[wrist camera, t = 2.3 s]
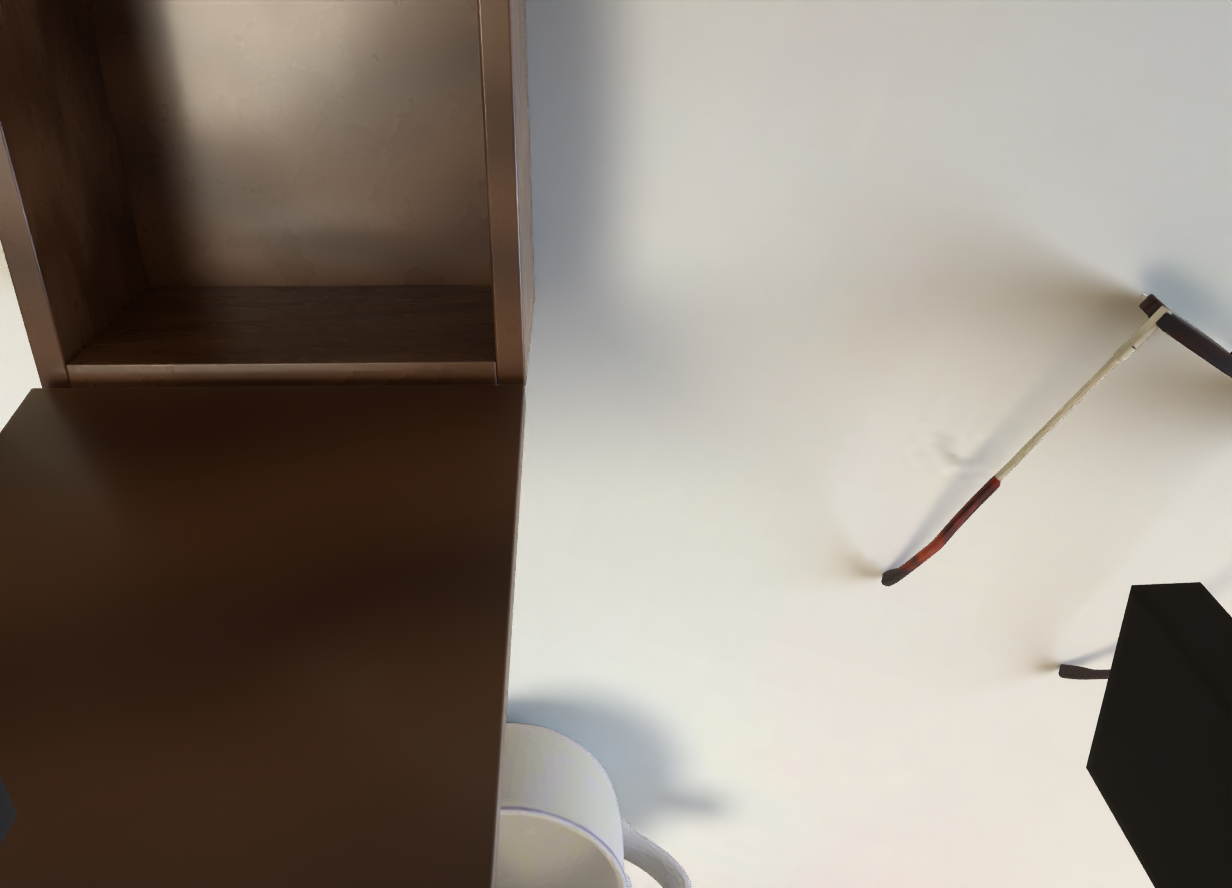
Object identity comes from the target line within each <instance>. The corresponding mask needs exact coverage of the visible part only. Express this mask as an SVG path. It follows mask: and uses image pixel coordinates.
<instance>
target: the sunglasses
mask: <svg viewBox="0 0 1232 888" xmlns="http://www.w3.org/2000/svg"><path fill="white" fill-rule="evenodd" d="M1140 296H1141V298H1142V299H1143V300H1144V301H1143V302H1142V303H1141V304H1140V306H1139V307H1140V308H1141V309H1142V310H1143V311H1144V312H1145V313H1146V314H1147V315H1148V318H1149V319H1148V320H1147V321H1146V322H1145V323H1144V324H1143V325H1142V326H1141V327H1140V328H1139V329H1138V330H1137V331H1136V332H1135V333H1134V334H1133V335H1132V336H1131V337H1130V338H1129V339H1128V340H1127V341H1126V342H1125V343H1124V344H1123V345H1122V346H1121V347H1120V348H1119V349H1118V350H1117V351H1116V352H1115V353H1114V355H1113V357H1112V358H1111V359H1110V360H1109V361H1108V362H1107V363H1106V364H1105V365H1104V366H1103V367H1102V368H1101V369H1100V370H1099V371H1098V372H1097V373H1096V374H1095V375H1094V376H1093V377H1092V378H1091V379H1090V380H1089V381H1088V382H1087V383H1086V384H1085V385H1084V386H1083V387H1082V388H1081V389H1080V390H1079V391H1078V392H1077V393H1076V394H1075V395H1074V396H1073V397H1072V398H1071V399H1070V400H1069V401H1068V402H1067V403H1066V404H1065V405H1064V406H1063V407H1062V408H1061V409H1060V410H1059V411H1058V412H1057V413H1056V414H1055V415H1054V416H1053V417H1052V418H1051V419H1050V420H1049V422H1048V423H1047V424H1046V425H1045V426H1044V427H1043V428H1042V429H1041V430H1040V431H1039V432H1038V433H1037V434H1036V435H1035V436H1034V437H1033V438H1032V439H1031V440H1030V441H1029V442H1028V443H1027V444H1026V445H1025V446H1024V447H1023V448H1022V449H1021V450H1020V451H1019V452H1018V453H1017V454H1016V455H1015V456H1014V457H1013V458H1012V459H1011V460H1010V461H1009V462H1008V463H1007V464H1006V465H1005V466H1004V467H1003V468H1002V469H1001V470H1000V471H999V472H998V473H997V474H996V475H995V476H993V477H992V478H991V479H990V480H989V481H988V482H987V483H986V484H985V485H984V486H983V487H982V488H981V489H980V490H979V491H978V492H977V493H976V494H975V495H974V496H973V497H972V498H971V499H970V500H969V501H968V502H967V503H966V504H965V505H964V507H963V508H962V509H961V510H960V511H959V512H958V513H957V514H956V515H955V516H954V517H953V518H952V519H951V521H950V522H949V523H948V524H947V525H946V526H945V527H944V529H943V530H942V531H941V532H940V533H939V534H938V536H937V537H936V538H935V539H934V540H933V541H932V542H931V543H930V544H929V545H927V546H926V547H925V548H923V549H922V550H921V551H920V552H918V553H917V554H916V555H915V556H914V557H912V558H911V559H910V560H909V561H907V562H906V563H905V564H903V565H902V566H901V567H899V568H896V569H892V570H889V571H887V572H885V573H884V574H883V576H882V581H881V582H882V584H883V585H885V586H891V585H893V584H895V583H897V582H898V581H900V580H901V579H902V578H904V577H905V576H906V575H908V574H909V573H910V572H912V571H913V570H914V569H916V568H917V567H918V566H920V565H921V564H922V563H923V562H925V561H926V560H927V559H929V558H930V557H931V556H932V555H934V554H935V553H936V552H937V551H939V550H940V549H941V548H942V547H943V546H944V545H945V544H946V543H947V541H948V540H949V539H950V538H951V537H952V536H953V534H954V533H955V532H956V531H957V530H958V529H959V528H960V526H961V525H962V524H963V523H964V522H965V521H966V520H967V519H968V518H969V517H970V516H971V515H972V514H973V513H974V512H975V511H976V510H977V509H978V507H979V506H980V505H981V504H982V503H983V502H984V501H985V500H986V499H987V498H988V497H989V496H990V495H991V494H992V493H993V492H994V491H995V490H996V489H997V488H998V487H999V486H1000V482H1001V480H1002V479H1003V478H1004V477H1005V476H1006V475H1007V474H1008V473H1009V472H1010V471H1011V470H1012V469H1013V468H1014V467H1015V466H1016V465H1017V464H1018V463H1019V462H1020V461H1021V460H1022V459H1023V458H1024V457H1025V456H1026V455H1027V454H1028V453H1029V452H1030V451H1031V450H1032V449H1033V448H1034V447H1035V446H1036V445H1037V444H1038V443H1039V442H1040V441H1041V440H1042V439H1043V438H1044V437H1045V436H1046V435H1047V434H1048V433H1049V432H1050V431H1051V430H1052V429H1053V428H1054V427H1055V426H1056V425H1057V424H1058V423H1059V422H1060V420H1061V419H1062V418H1063V417H1064V416H1065V415H1066V414H1067V413H1068V412H1069V411H1070V410H1071V409H1072V408H1073V407H1074V406H1075V405H1076V404H1077V403H1078V402H1079V401H1080V400H1081V399H1082V398H1083V397H1084V396H1085V395H1086V394H1088V393H1089V392H1090V391H1091V390H1092V389H1093V388H1094V387H1095V386H1096V385H1097V384H1098V383H1099V382H1100V381H1101V380H1102V379H1103V378H1104V377H1105V376H1106V375H1107V374H1108V373H1109V372H1110V371H1111V370H1112V369H1113V368H1114V367H1115V366H1116V365H1117V364H1118V363H1119V362H1124V361H1125V360H1126V359H1127V358H1128V357H1129V356H1130V355H1131V354H1132V353H1133V352H1134V351H1135V350H1136V348H1138V347H1139V346H1140V345H1141V344H1142V343H1143V342H1144V341H1145V340H1146V339H1147V338H1148V337H1149V336H1150V335H1151V334H1152V333H1153V332H1154V331H1155V330H1156V329H1157V328H1158V327H1159V328H1160V329H1161V330H1162V331H1164V332H1165V333H1167V334H1168V335H1170V336H1171V337H1172V338H1174V339H1175V340H1177V341H1178V342H1180V343H1181V344H1182V345H1184V346H1185V347H1187V348H1188V349H1190V350H1191V351H1193V352H1194V353H1196V354H1197V355H1198V356H1200V357H1201V358H1203V359H1204V360H1206V361H1207V362H1209V363H1210V364H1212V365H1213V366H1215V367H1216V368H1218V369H1219V370H1220V371H1222V372H1224V373H1225V374H1227V375H1228V376H1230V377H1231V378H1232V352H1231V353H1229V352H1227V351H1226V350H1225V349H1224V348H1222V347H1221V346H1220V345H1219V344H1217V343H1216V342H1215V341H1214V340H1212V339H1211V338H1210V337H1208V336H1207V335H1206V334H1204V333H1203V332H1202V331H1200V330H1199V329H1198V328H1196V327H1195V326H1194V325H1192V324H1191V323H1189V322H1188V321H1187V320H1185V319H1184V318H1182V317H1181V316H1179V315H1178V314H1176V313H1175V312H1174V311H1172V310H1171V309H1169V308H1168V307H1166V306H1165V305H1164V304H1163V303H1162V302H1161V301H1159V300H1158V299H1157V298H1156V297H1155V296H1154V295H1152V294H1150V295H1147V294H1145V293H1142V294H1141V295H1140ZM1109 674H1110V670H1093V669H1088V668H1084V667H1079V666H1073V665H1063V664H1062V665H1061V666H1060V669H1059V676H1060V677H1062V678H1069V679H1086V680H1087V679H1108V678H1109Z"/></svg>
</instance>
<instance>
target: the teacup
mask: <svg viewBox="0 0 1232 888" xmlns="http://www.w3.org/2000/svg"><path fill="white" fill-rule="evenodd" d="M624 859H626V860H627V861H629V862H631V863H633V864H634V865H636V866H638V867H640V868H641V869H642V870H644V871H645V872H647V873H648V874H649V875H650V876H652V877H653V878H654V879H655V880H656V881H657V882H658V883H659V884H660V885H661V886H662V887H663V888H692V885H691V881H690V879H689V877H688V876H687V874H686V872H685V870H684V869H683V868H682V866H681V865H680V864H679V863H678V862H677V861H676V860H675V859H674V858H673V857H672V856H671V855H670V854H669V853H668V852H666V851H665V850H663V849H662V848H661V847H659V846H658V845H656V844H655V843H653V842H652V841H650V840H648V839H647V838H645V837H643V836H642V835H640V834H638V833H637V832H635V831H634V830H633V829H632V828H631V826H630V825H629V824H628V822H627V821H626V820H624V819H623V818H621V817H620V812H619V807H618V802H617V798H616V795H615V792H614V789H613V786H612V784H611V781H610V779H609V777H608V775H607V774H606V772H605V770H604V769H603V768H602V766H601V765H600V763H599V762H598V761H597V760H596V759H595V758H594V757H593V755H592V754H591V753H589V752H588V751H587V750H586V749H585V748H584V747H582V746H581V745H580V744H578V743H577V742H575V741H574V740H572V739H570V738H568V737H567V736H565V735H563V734H560V733H558V732H556V731H553V730H550V729H547V728H544V727H540V726H535V725H529V724H519V723H506V731H505V747H504V763H503V779H502V795H501V811H500V827H499V843H498V859H497V876H496V888H633V887H632V884H631V881H630V879H629V877H628V876H627V874H626V873H625V872H624Z"/></svg>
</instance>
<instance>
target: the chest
mask: <svg viewBox="0 0 1232 888" xmlns="http://www.w3.org/2000/svg"><path fill="white" fill-rule="evenodd" d="M0 240H1V244H2V247H3V251H4V254H5V258H6V261H7V265H8V268H9V272H10V275H11V279H12V282H13V286H14V290H15V293H16V297H17V300H18V304H19V307H20V311H21V314H22V318H23V321H24V325H25V328H26V332H27V336H28V339H29V343H30V346H31V350H32V353H33V357H34V360H35V364H36V367H37V371H38V374H39V378H40V381H41V385H42V388H148V387H265V386H382V385H500V384H523V385H524V386H525V385H526V379H527V369H528V360H529V350H530V340H531V330H532V320H533V311H534V301H535V287H534V257H533V226H532V196H531V165H530V134H529V104H528V73H527V42H526V12H525V0H0Z"/></svg>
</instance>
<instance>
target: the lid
mask: <svg viewBox="0 0 1232 888" xmlns="http://www.w3.org/2000/svg"><path fill="white" fill-rule="evenodd" d="M525 408H526V399H525V386H524V385H523V384H500V385H382V386H265V387H148V388H33V389H31V390H30V392H29V393H28V395H27V396H26V397H25V399H24V400H23V402H22V403H21V404H20V406H19V407H18V409H17V410H16V411H15V413H14V414H13V416H12V417H11V418H10V420H9V421H8V423H7V424H6V425H5V427H4V428H3V430H2V431H1V432H0V776H1V778H2V781H3V783H4V785H5V787H6V790H7V792H8V794H9V797H10V799H11V801H12V804H13V806H14V808H15V811H16V813H17V815H18V817H17V818H16V820H15V821H14V823H13V825H12V826H11V828H10V830H9V831H8V833H7V835H6V836H5V838H4V840H3V841H2V843H1V844H0V888H496V876H497V859H498V843H499V827H500V811H501V795H502V779H503V763H504V747H505V731H506V715H507V698H508V682H509V666H510V650H511V634H512V618H513V602H514V586H515V570H516V553H517V537H518V521H519V505H520V489H521V473H522V457H523V441H524V425H525Z"/></svg>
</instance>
